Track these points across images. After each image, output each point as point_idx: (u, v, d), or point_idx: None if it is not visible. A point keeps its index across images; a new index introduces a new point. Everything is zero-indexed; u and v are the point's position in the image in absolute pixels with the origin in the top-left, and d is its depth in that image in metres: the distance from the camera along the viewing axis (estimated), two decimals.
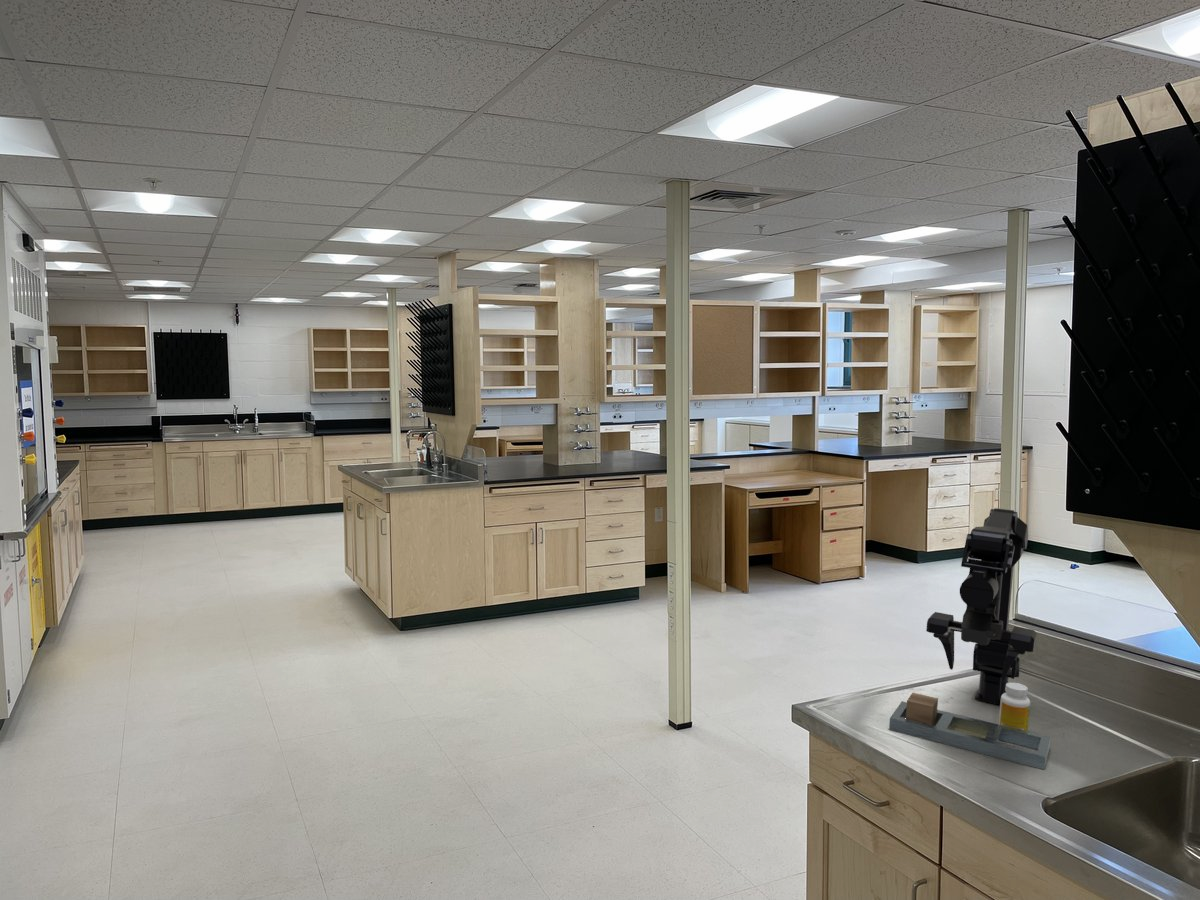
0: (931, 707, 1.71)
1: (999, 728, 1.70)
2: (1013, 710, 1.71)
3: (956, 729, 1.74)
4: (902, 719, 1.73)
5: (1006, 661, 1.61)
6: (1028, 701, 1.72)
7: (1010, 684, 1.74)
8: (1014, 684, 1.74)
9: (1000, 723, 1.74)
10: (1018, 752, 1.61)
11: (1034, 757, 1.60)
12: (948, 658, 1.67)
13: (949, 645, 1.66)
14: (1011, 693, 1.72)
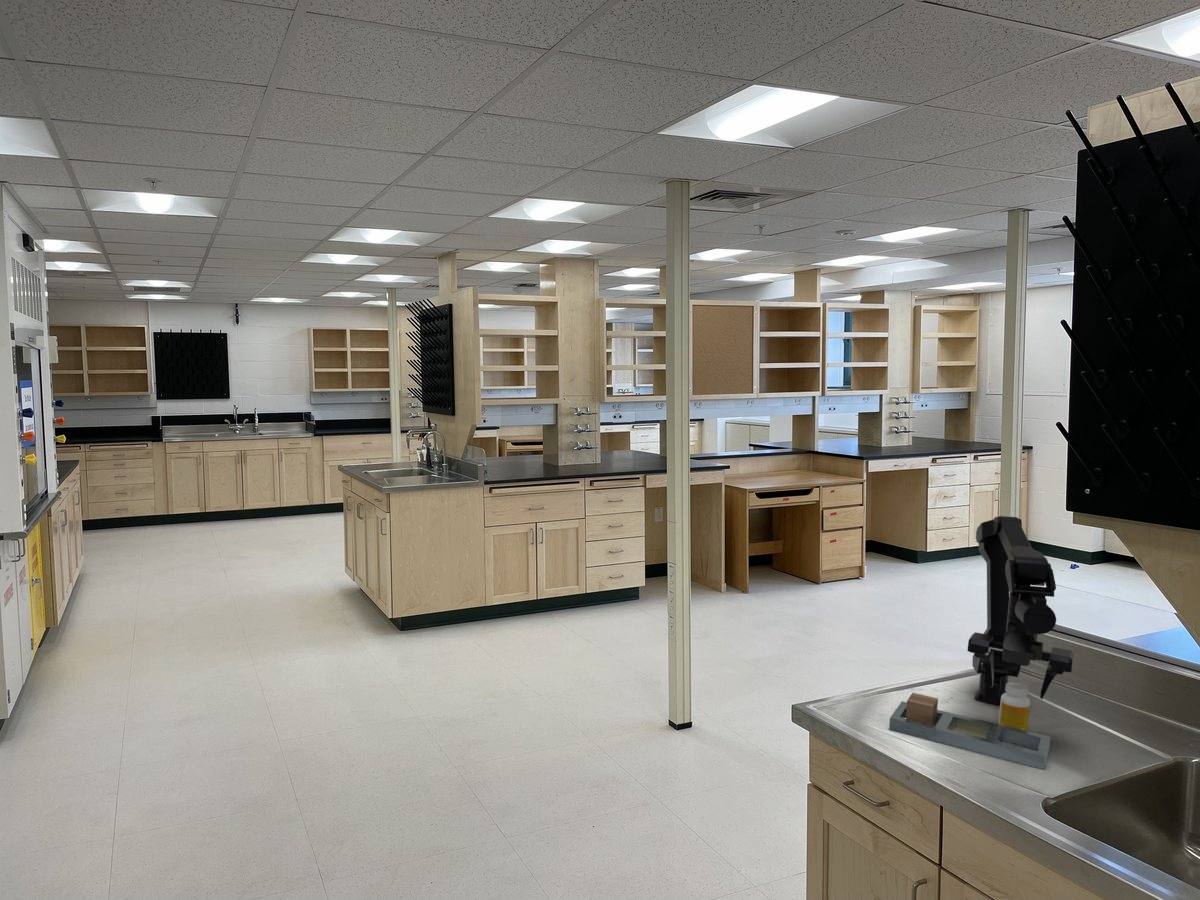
0: (931, 707, 1.71)
1: (999, 728, 1.70)
2: (1013, 710, 1.71)
3: (956, 729, 1.74)
4: (902, 719, 1.73)
5: (1045, 680, 1.69)
6: (1028, 701, 1.72)
7: (1010, 684, 1.74)
8: (1014, 684, 1.74)
9: (1000, 723, 1.74)
10: (1018, 752, 1.61)
11: (1034, 757, 1.60)
12: (988, 677, 1.75)
13: (989, 664, 1.74)
14: (1011, 693, 1.72)
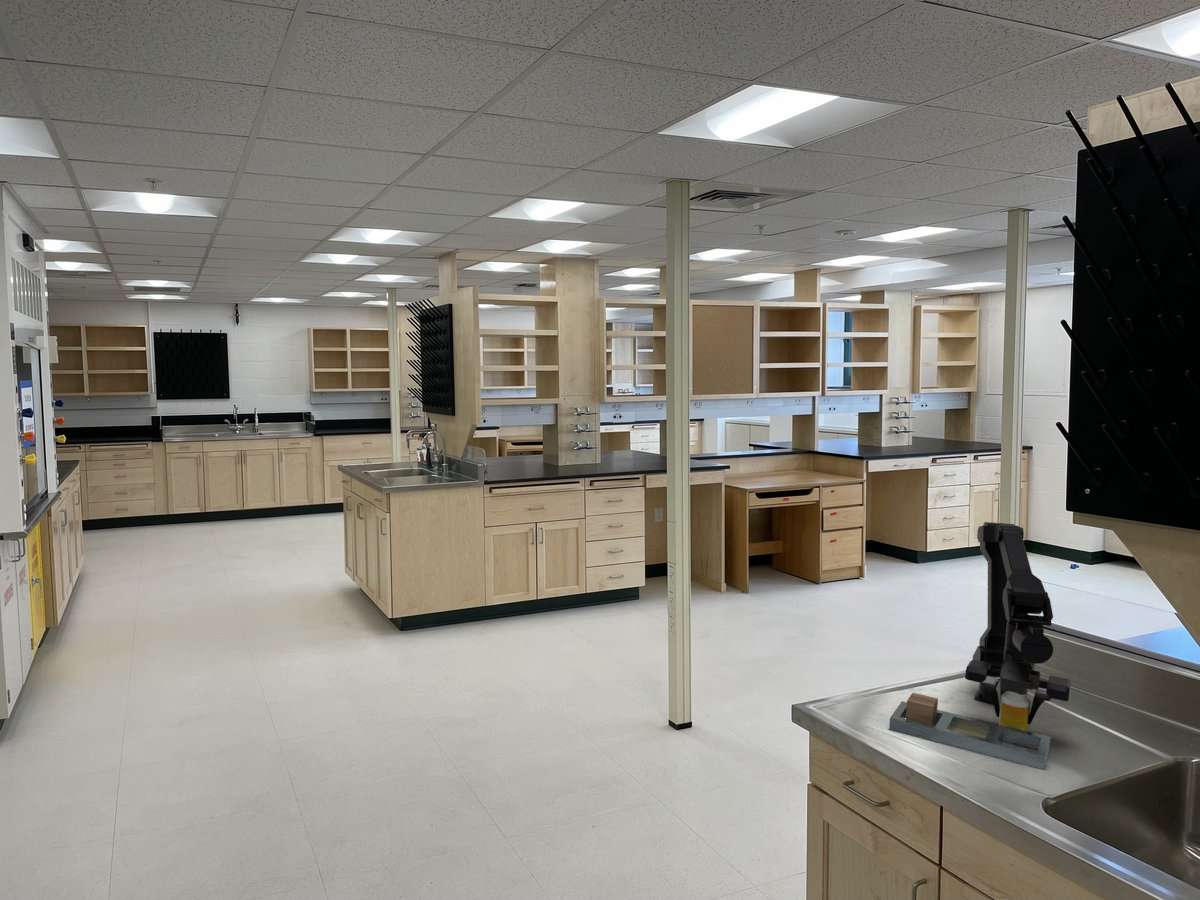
0: (931, 707, 1.71)
1: (999, 728, 1.70)
2: (1013, 710, 1.71)
3: (956, 729, 1.74)
4: (902, 719, 1.73)
5: (1032, 706, 1.71)
6: (1028, 701, 1.72)
7: None
8: None
9: (1000, 723, 1.74)
10: (1018, 752, 1.61)
11: (1034, 757, 1.60)
12: (995, 706, 1.75)
13: (996, 694, 1.74)
14: (1011, 693, 1.72)
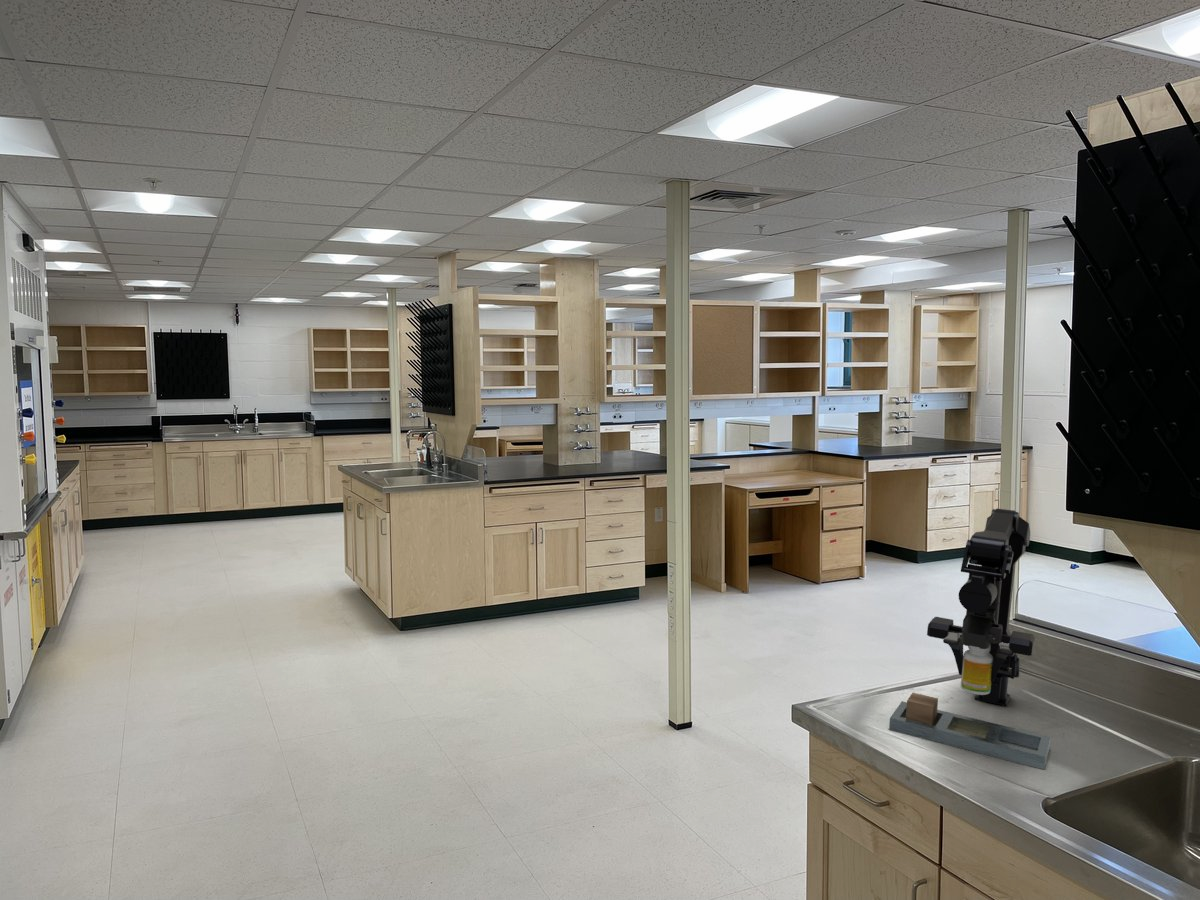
0: (931, 707, 1.71)
1: (999, 728, 1.70)
2: (975, 667, 1.66)
3: (956, 729, 1.74)
4: (902, 719, 1.73)
5: (995, 663, 1.66)
6: (991, 657, 1.67)
7: None
8: None
9: (963, 681, 1.69)
10: (1018, 752, 1.61)
11: (1034, 757, 1.60)
12: (957, 664, 1.69)
13: (959, 651, 1.69)
14: (974, 650, 1.67)
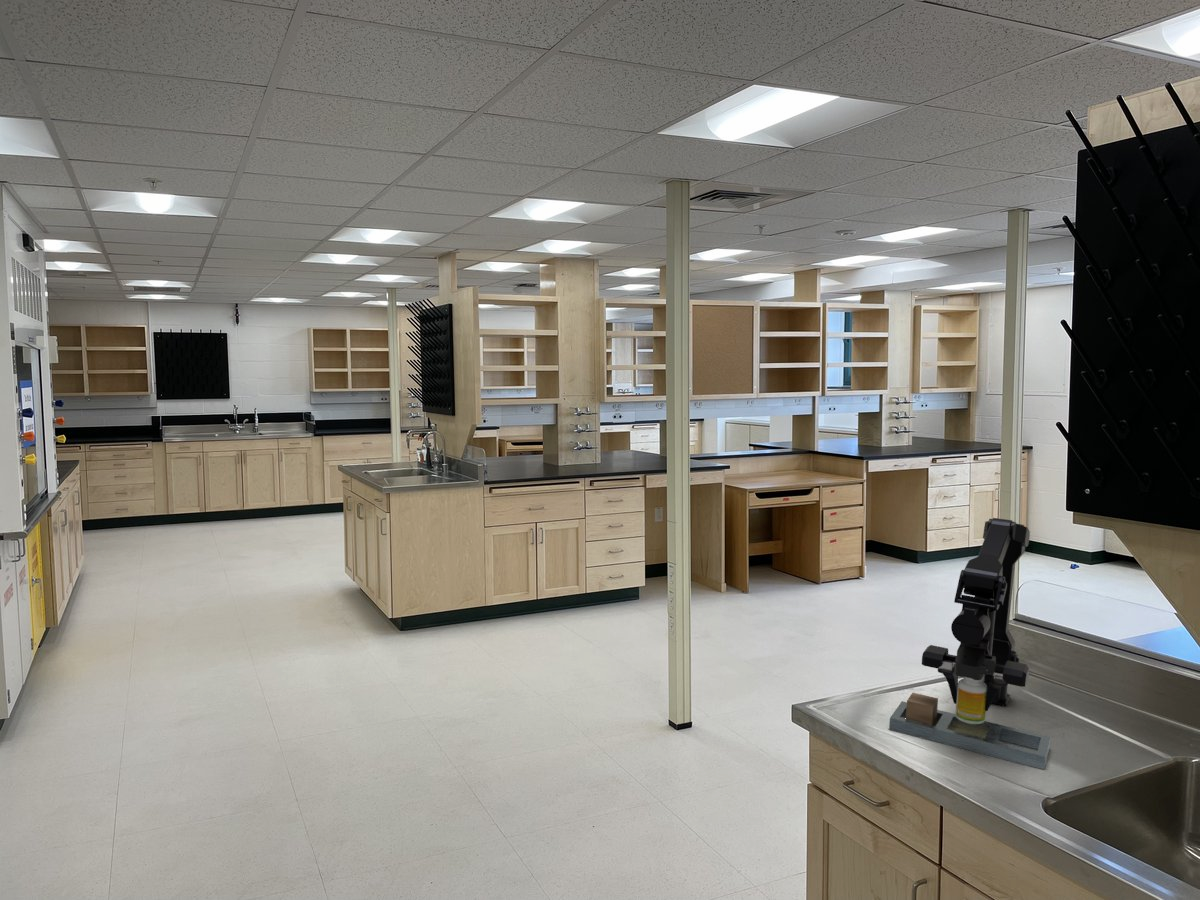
0: (931, 707, 1.71)
1: (999, 728, 1.70)
2: (969, 696, 1.67)
3: (956, 729, 1.74)
4: (902, 719, 1.73)
5: (989, 692, 1.66)
6: (985, 687, 1.67)
7: None
8: None
9: (957, 710, 1.70)
10: (1018, 752, 1.61)
11: (1034, 757, 1.60)
12: (952, 693, 1.70)
13: (953, 680, 1.70)
14: (968, 679, 1.68)
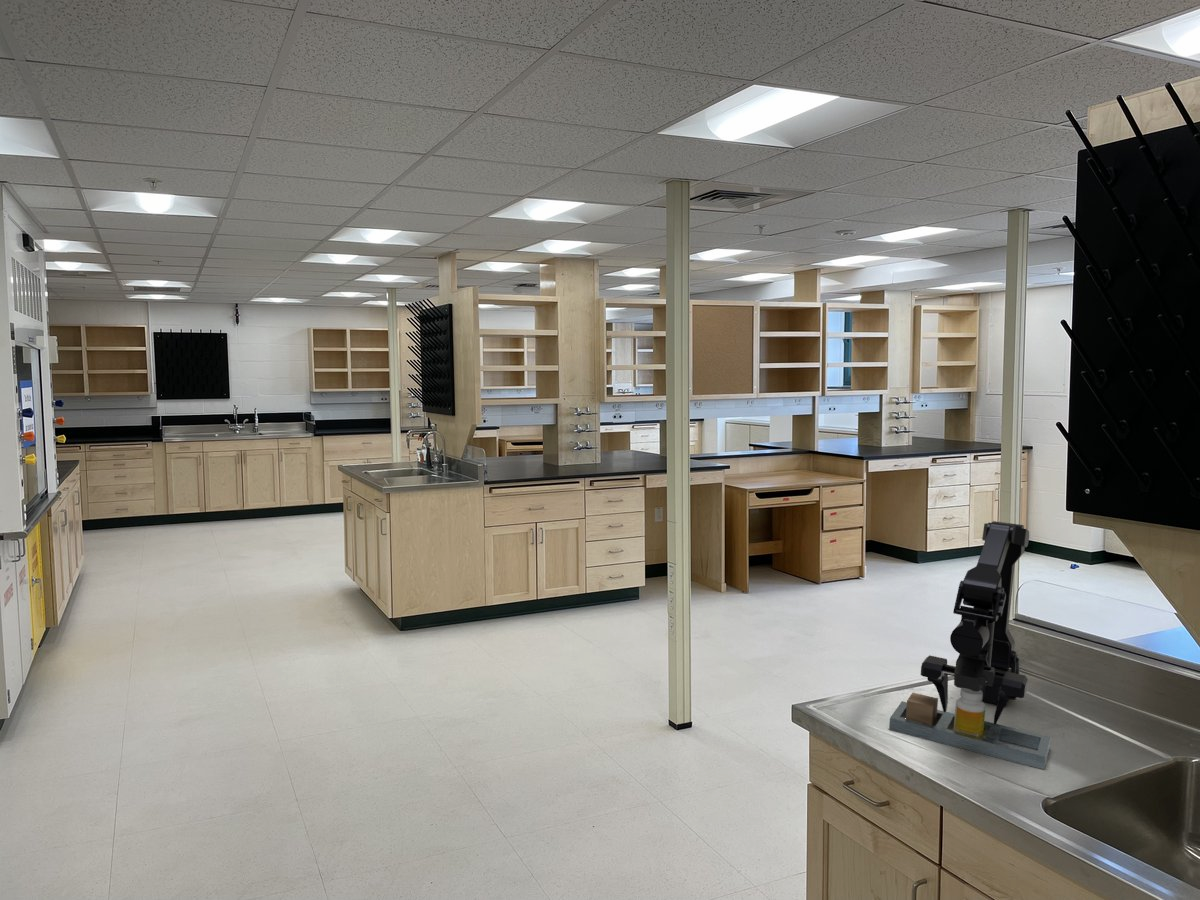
0: (931, 707, 1.71)
1: (999, 728, 1.70)
2: (967, 715, 1.67)
3: None
4: (902, 719, 1.73)
5: (998, 706, 1.66)
6: (983, 706, 1.68)
7: (965, 688, 1.70)
8: None
9: (955, 728, 1.70)
10: (1018, 752, 1.61)
11: (1034, 757, 1.60)
12: (942, 701, 1.71)
13: (943, 689, 1.71)
14: (966, 698, 1.68)
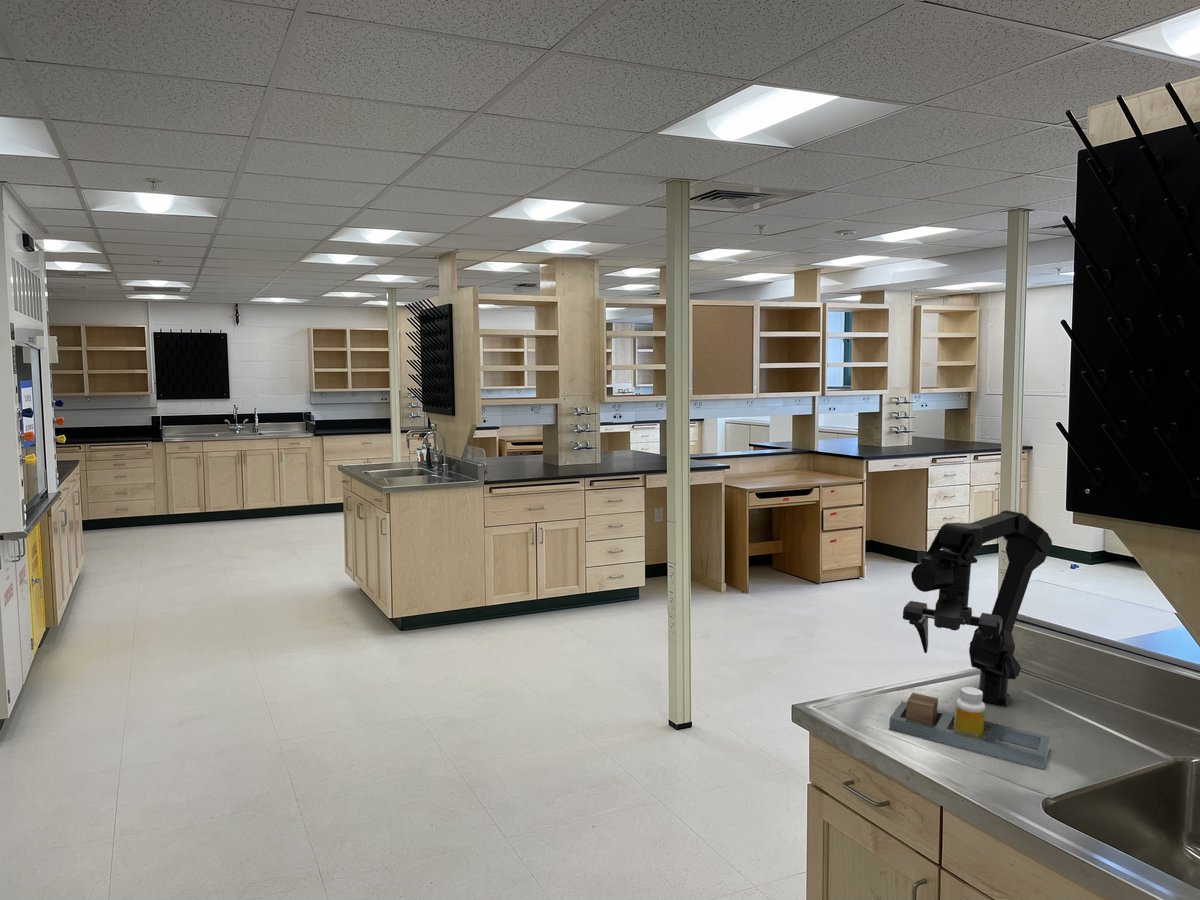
0: (931, 707, 1.71)
1: (999, 728, 1.70)
2: (967, 715, 1.67)
3: None
4: (902, 719, 1.73)
5: (975, 644, 1.77)
6: (983, 706, 1.68)
7: (965, 688, 1.70)
8: (969, 688, 1.70)
9: (955, 728, 1.70)
10: (1018, 752, 1.61)
11: (1034, 757, 1.60)
12: (923, 643, 1.82)
13: (923, 631, 1.81)
14: (966, 698, 1.68)
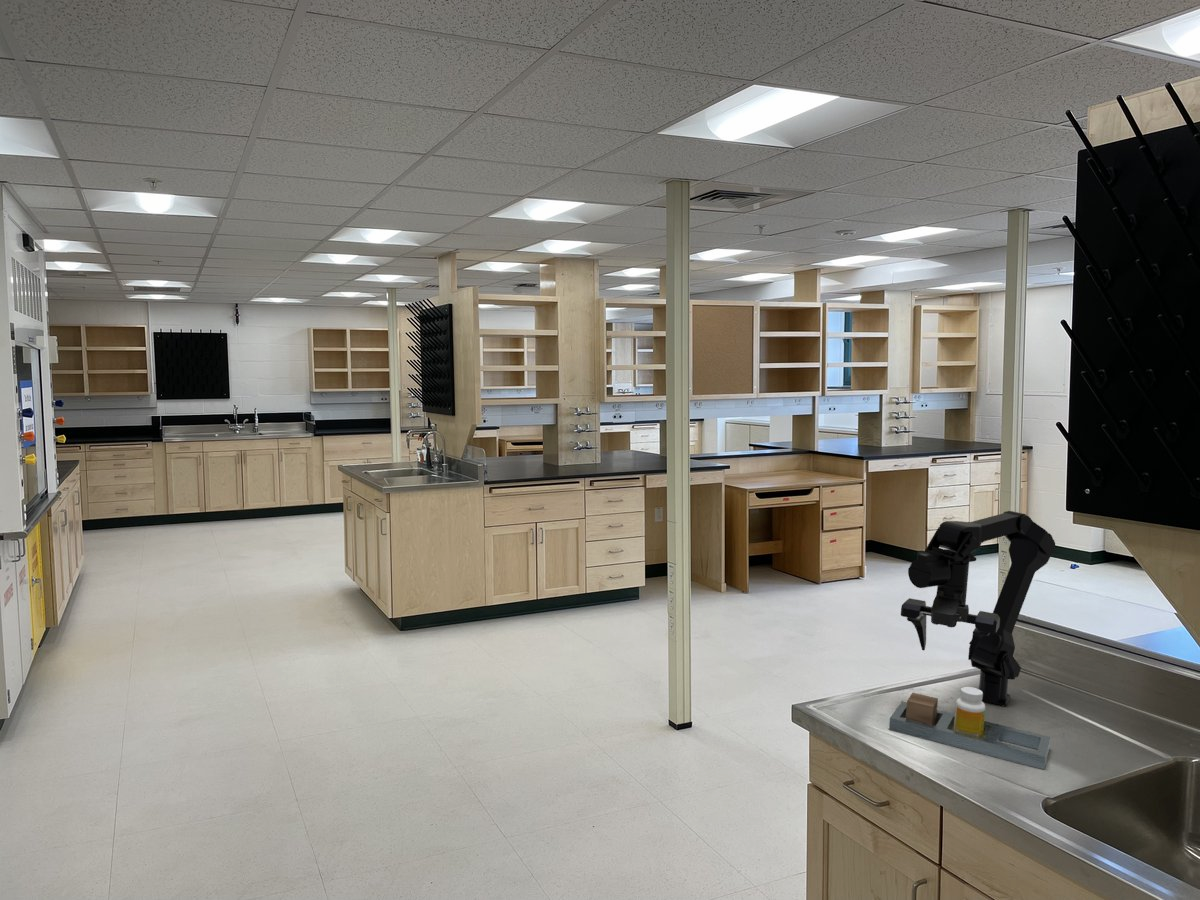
0: (931, 707, 1.71)
1: (999, 728, 1.70)
2: (967, 715, 1.67)
3: None
4: (902, 719, 1.73)
5: (972, 642, 1.77)
6: (983, 706, 1.68)
7: (965, 688, 1.70)
8: (969, 688, 1.70)
9: (955, 728, 1.70)
10: (1018, 752, 1.61)
11: (1034, 757, 1.60)
12: (920, 640, 1.83)
13: (921, 628, 1.83)
14: (966, 698, 1.68)
